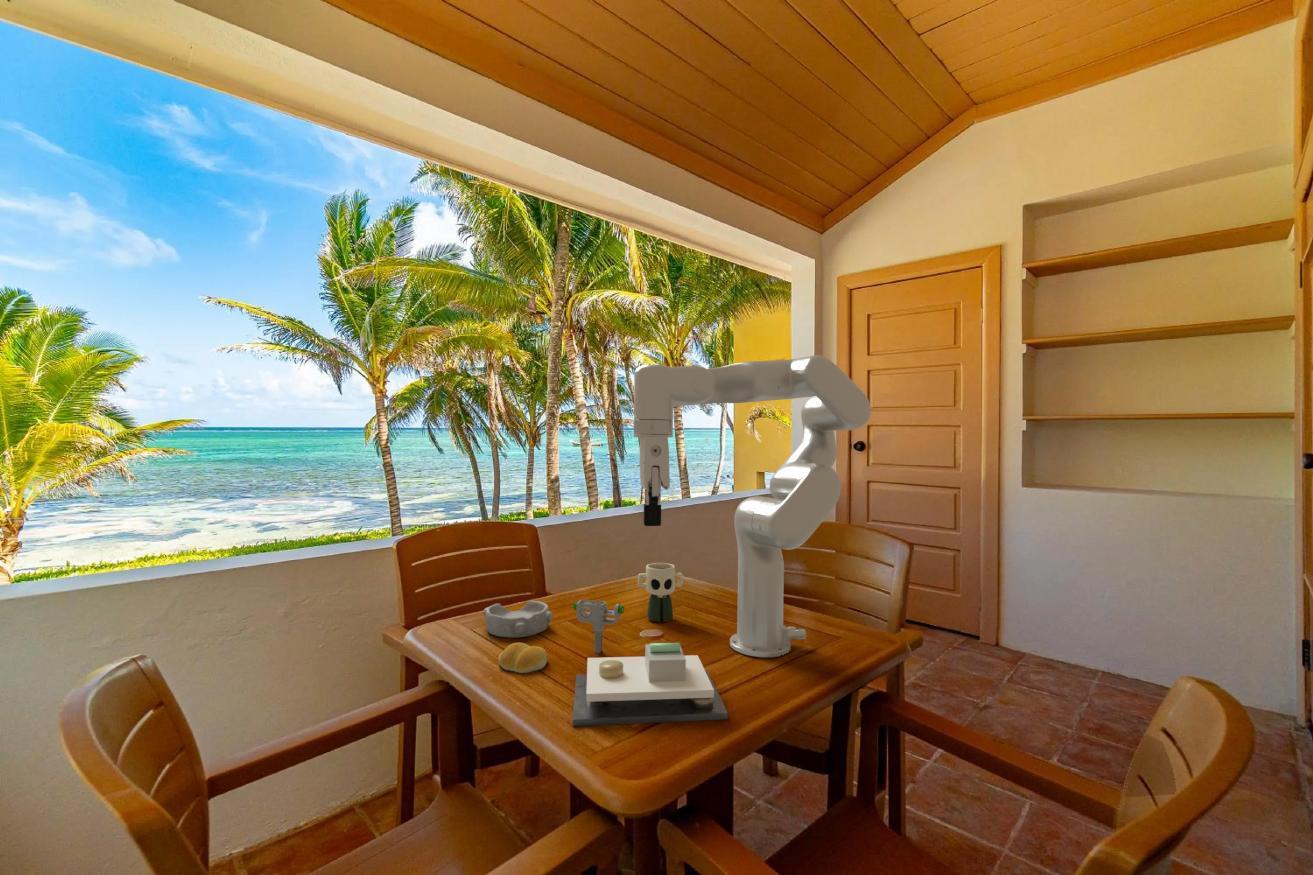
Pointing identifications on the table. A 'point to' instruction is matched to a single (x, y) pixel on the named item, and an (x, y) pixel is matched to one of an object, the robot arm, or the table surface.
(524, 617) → the dish
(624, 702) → the dark grey rectangular slab
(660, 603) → the character mug
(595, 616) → the mechanical component
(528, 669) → the bread roll
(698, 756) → the table surface
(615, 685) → the levelling plate
